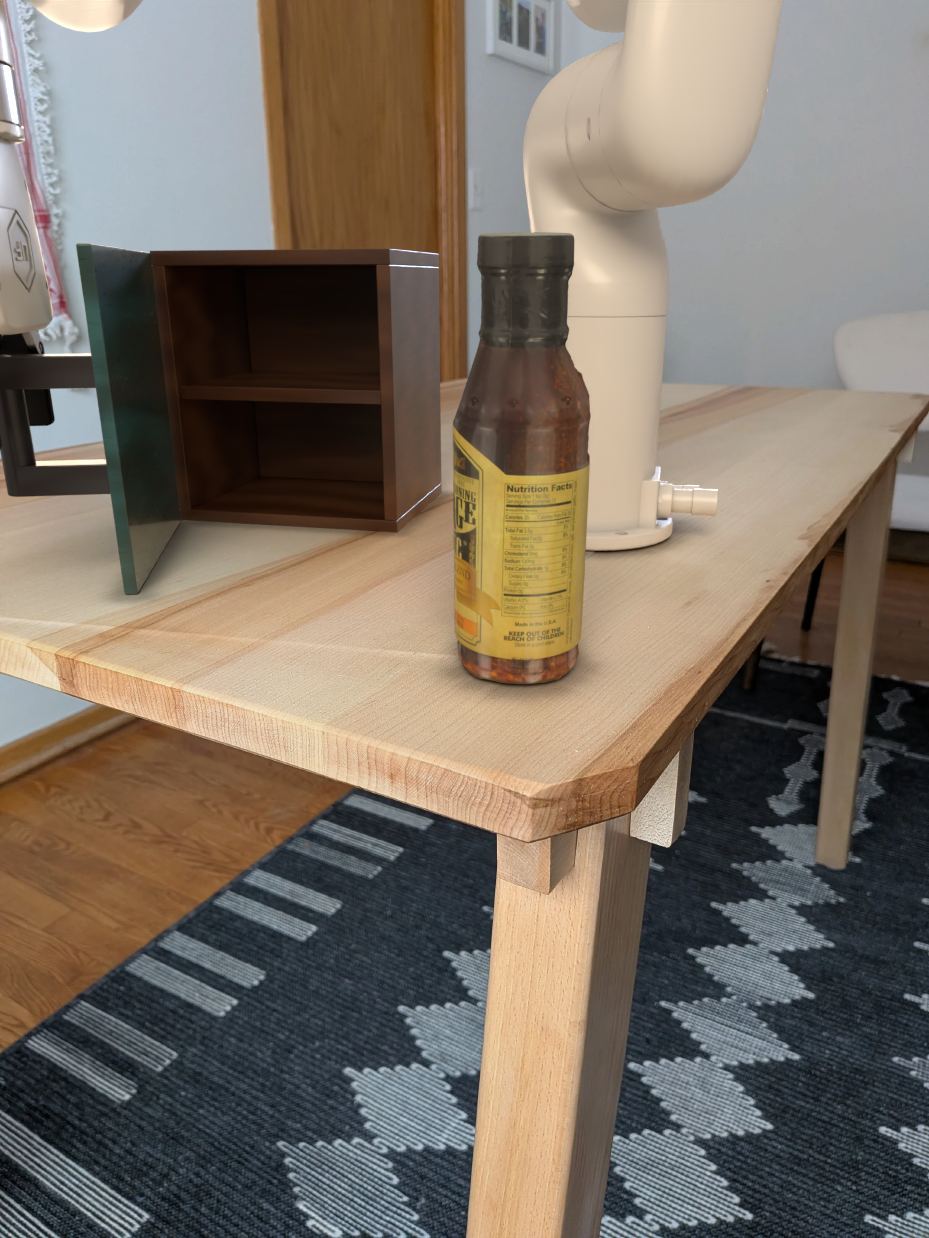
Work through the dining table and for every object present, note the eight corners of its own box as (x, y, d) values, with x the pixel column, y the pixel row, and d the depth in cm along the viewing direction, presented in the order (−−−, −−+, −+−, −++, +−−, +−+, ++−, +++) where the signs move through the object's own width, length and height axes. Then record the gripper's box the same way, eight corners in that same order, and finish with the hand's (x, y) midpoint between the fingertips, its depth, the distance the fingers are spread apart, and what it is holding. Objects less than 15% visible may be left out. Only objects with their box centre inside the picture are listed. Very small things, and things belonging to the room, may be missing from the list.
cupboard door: (12, 600, 54) (-54, 243, 47) (85, 524, 71) (44, 252, 64) (138, 594, 55) (90, 243, 48) (181, 521, 72) (150, 252, 65)
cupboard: (397, 533, 69) (389, 248, 62) (180, 521, 73) (149, 250, 66) (441, 493, 82) (439, 253, 75) (255, 485, 85) (236, 255, 78)
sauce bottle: (465, 638, 49) (464, 236, 42) (583, 645, 48) (602, 235, 41) (443, 690, 43) (437, 229, 36) (577, 699, 42) (598, 227, 35)
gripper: (-48, 72, 40) (21, 464, 46) (63, 132, 56) (103, 416, 62) (-234, 69, 39) (-139, 468, 45) (-67, 130, 55) (-14, 418, 61)
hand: (1, 437), depth 53 cm, fingers open, 9 cm apart
